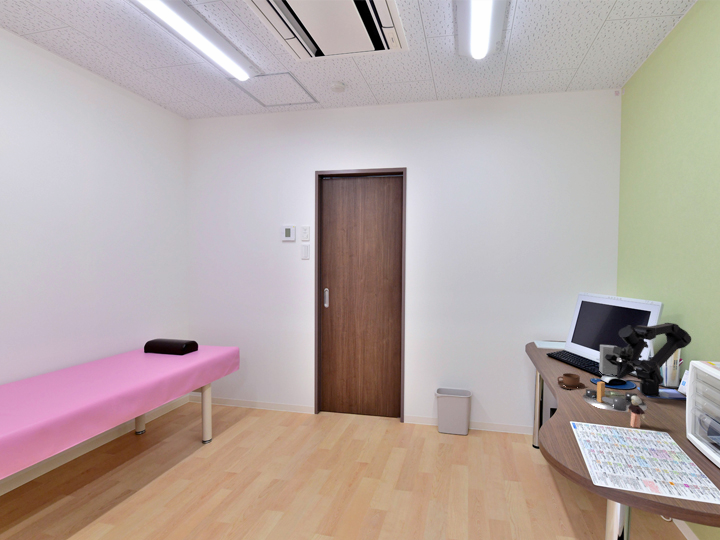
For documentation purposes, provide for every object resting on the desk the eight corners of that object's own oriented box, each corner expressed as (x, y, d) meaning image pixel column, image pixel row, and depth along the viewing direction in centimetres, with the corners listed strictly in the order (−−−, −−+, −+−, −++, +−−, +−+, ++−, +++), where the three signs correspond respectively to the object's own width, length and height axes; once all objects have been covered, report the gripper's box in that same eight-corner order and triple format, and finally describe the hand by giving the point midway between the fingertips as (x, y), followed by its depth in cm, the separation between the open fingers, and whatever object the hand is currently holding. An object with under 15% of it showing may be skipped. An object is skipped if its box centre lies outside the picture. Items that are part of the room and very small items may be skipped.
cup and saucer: (566, 392, 191) (566, 379, 191) (552, 384, 203) (553, 372, 203) (590, 391, 191) (590, 378, 191) (575, 383, 203) (576, 371, 203)
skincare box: (602, 376, 214) (602, 346, 213) (598, 372, 220) (598, 343, 220) (620, 377, 211) (620, 347, 211) (616, 373, 218) (616, 344, 217)
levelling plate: (636, 397, 183) (636, 386, 182) (656, 417, 160) (656, 405, 160) (577, 392, 190) (577, 381, 190) (588, 411, 168) (588, 399, 168)
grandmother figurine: (622, 425, 153) (622, 393, 153) (629, 424, 155) (629, 392, 154) (642, 434, 146) (642, 400, 146) (649, 432, 148) (650, 398, 147)
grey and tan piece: (629, 409, 165) (629, 389, 165) (621, 411, 164) (621, 391, 163) (602, 399, 176) (603, 381, 176) (595, 401, 175) (595, 382, 174)
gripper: (605, 336, 189) (589, 364, 186) (642, 342, 171) (625, 372, 168) (620, 350, 191) (604, 377, 188) (658, 357, 173) (642, 387, 170)
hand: (618, 378), depth 179 cm, fingers closed
